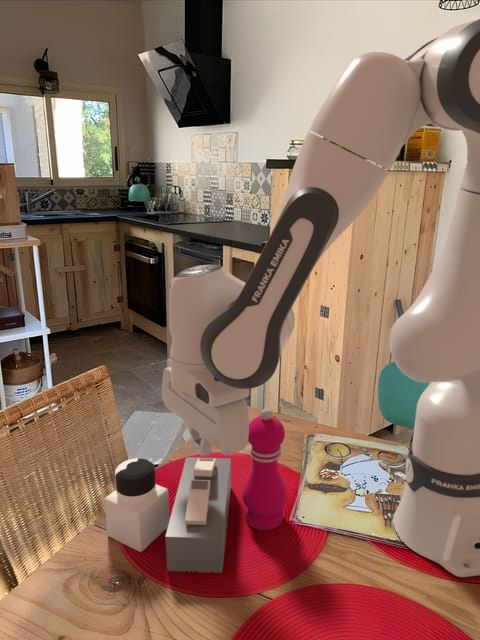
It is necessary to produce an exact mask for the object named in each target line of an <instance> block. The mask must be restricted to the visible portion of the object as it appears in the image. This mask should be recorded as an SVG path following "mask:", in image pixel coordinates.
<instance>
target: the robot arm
mask: <svg viewBox="0 0 480 640" xmlns="http://www.w3.org/2000/svg"><path fill="white" fill-rule="evenodd" d="M424 126H426V127H433V128H434V127H435V128H440V129H444V130H447V131H461V132H462V133H463V135H464V138H465V141H466V146H467V147H466V149H467V150H466V151H467V155H466V162H467V163H466V165H465V168H464V172H463V175H462V179H461V183H460V187H459V190H458V191H459V192H458V195H457V198H456V203H455V207H454V211H453V214H452V217H451V222H450V226H449V229H448V233H447V238H446V241H445V244H444V246H443V248H442V251H441V254H440V256H439V258H438V259H437V261H436V264H435V266H434V267H433V269H432V272H431V273H430V275H429V276H428V278H427V280H426V282H425V284H424V286H423V288H422V290H421V291H420V293H419V294H418V295H417V297H416V299H415V300H414V302H413V303H412V304H411V305H410V307H409V308H408V309H406V311H405V312H404V313H403V314H401V316H399V318H398V319H396V321H395V322H394V323H393V325H392V327H391V330H390V333H389V349H390V354H391V356H392V360H393V361H394V363H395V365H396V366H397V368H398V369H399V370H400V372H402V374H404V375H405V376H406V377H407V378H409V379H411V380H413V381H415V382H418V383H422V384H423V383H426V384H428V386H427V387H426V388H425V389H424V390H423V392H422V393H421V395H420V397H419V398H418V401H417V404H416V411H415V420H414V427H413V435H412V441H411V442H410V443H409V448H408V453H407V457H406V463H405V481H406V482H405V487H404V489H403V492H402V495H401V498H400V502H399V504H398V507H397V508H396V510H395V512H394V513H393V516H394V518H393V517H392V525H393V524H394V527H395V530H396V532H397V534H398V535H397V534H396V535H397V537H398V536H399V537H400V538H399V537H398V538H399V539H400V541H402V543H403V542H404V545H406V546H407V547H408V548H409V549H411V550H412V551H413V552H415V553H416V554H418V555H420V556H422V557H424V558H427V559H428V560H430V561H433V562H434V563H437V564H439V565H440V566H442V567H443V568H444V569H445V570H447V571H448V572H449V573H451V574H452V575H454V576H455V577H459V578H468V577H475V576H476V577H477V576H480V18H479V19H477V20H476V19H475V20H472V21H469V22H465V23H462V24H459V25H456V26H454V27H451V28H450V29H448V30H446V31H445V32H444V33H442V34H441V35H440V36H439V37H436V38H434V39H432V40H430V41H428V42H426V43H425V44H424V45H422V46H421V47H420V48H418V49H417V50H415V52H413V53H412V54H410V55H408V57H406V58H405V59H403V58H401V57H399V56H397V55H395V54H393V53H388V52H382V51H372V52H366V53H363V54H361V55H359V56H357V57H356V58H354V59H353V60H352V61H351V62H350V63H349V64H348V66H347V67H346V69H345V70H344V71H343V73H342V74H341V75H340V77H339V78H338V80H337V81H336V83H335V84H334V86H333V87H332V89H331V90H330V92H329V93H328V95H327V97H326V99H325V100H324V101H323V104H322V105H321V107H320V109H319V111H318V112H317V113H316V115H315V118H314V119H313V121H312V123H311V126H310V127H309V129H308V130H309V131H307V134H306V136H305V137H304V140H303V143H302V145H301V147H300V150H299V151H298V155H297V157H296V159H295V163H294V165H293V168H292V171H291V174H290V177H289V181H288V183H287V187H286V189H285V192H284V197H283V200H282V202H281V205H280V208H279V211H278V215H277V218H276V221H275V223H274V226H273V227H272V228H273V229H272V231H271V233H270V235H269V237H268V240H267V241H266V243H265V245H264V247H263V249H262V251H261V252H260V255H259V257H258V259H257V261H255V262H256V263H255V264H254V267H253V269H252V270H251V272H250V274H249V276H248V278H247V280H246V281H243V280H241V279H239V278H238V277H236V276H234V275H233V274H231V272H229V271H228V270H227V269H226V267H224V266H222V265H218V264H211V263H210V264H202V265H196V266H195V265H194V266H193V267H188V268H185V269H183V270H182V271H179V272H178V273H177V274H176V275H175V276H174V277H173V278H172V280H171V283H170V287H169V296H168V297H169V298H168V328H169V331H170V335H171V338H172V343H171V347H170V352H169V354H170V355H169V357H168V358H167V360H166V367H165V368H164V370H163V372H162V373H163V374H162V385H161V387H162V391H161V397H162V401H163V404H164V406H165V407H166V408H168V409H169V410H170V411H171V412H172V413H173V414H175V415H176V416H177V417H179V418H180V419H181V420H182V421H183V422H184V423H185V424H187V430H188V433H189V435H190V438H191V441H192V446H191V447H192V449H194V450H195V451H196V452H197V453H198V454H199V455H201V457H206V456H208V455H211V453H212V445H213V447H215V449H217V450H219V451H220V452H221V453H222V454H223V455H225V456H230V455H233V454H235V453H237V452H238V453H239V452H240V451H243V450H244V449H245V448H246V447H247V445H248V443H249V442H248V436H249V423H250V414H249V407H248V404H247V401H246V399H245V398H248V397H249V396H250V389H254V388H257V387H260V386H262V385H264V384H266V383H267V382H268V381H269V380H270V379H271V378H272V377H273V376H274V374H275V372H276V371H277V367H278V365H279V362H280V358H281V356H282V354H283V351H284V350H285V349H286V346H287V344H288V342H289V340H290V337H291V336H292V333H293V332H294V328H295V315H294V311H293V307H294V304H295V303H296V301H297V299H298V297H299V295H300V294H301V291H302V290H303V288H304V286H305V285H306V282H307V280H308V279H309V277H310V275H311V274H312V272H313V270H314V268H315V266H316V265H317V263H318V262H319V260H320V259H321V258H322V256H323V255H324V254H325V253H326V251H327V250H328V249H329V247H330V246H331V245H332V244H333V243H334V242H335V241H336V240H337V239H338V238H339V237H340V236H341V235H342V234H343V233H344V232H345V231H346V230H347V229H348V228H349V227H350V225H351V224H353V223H354V221H355V220H356V219H357V218H358V217H359V216H360V215H361V213H362V212H363V211H364V210H365V208H366V207H367V206H368V205H369V203H370V202H371V201H372V199H373V198H374V197H375V195H376V194H377V193H378V190H380V187H382V184H383V183H384V181H385V180H386V178H387V176H388V174H389V172H390V171H391V169H392V167H393V166H394V163H395V161H396V160H397V157H398V156H399V153H400V151H401V149H402V148H403V146H404V145H405V144H406V143H407V141H408V140H409V139H410V138H411V137H412V136H413V134H415V133H416V132H417V131H419V130H420V129H421V128H423V127H424ZM310 131H311V132H310ZM324 138H325V139H324ZM334 143H335V144H334ZM346 149H347V150H346ZM358 155H359V156H358ZM368 160H369V161H368ZM388 170H389V171H388ZM394 527H393V528H394ZM395 530H394V531H395ZM396 532H395V533H396Z"/></svg>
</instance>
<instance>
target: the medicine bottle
mask: <svg viewBox="0 0 480 640" xmlns="http://www.w3.org/2000/svg"><path fill="white" fill-rule="evenodd" d="M114 481H115V490H114V491H113V492H112V493H110V494H109V495H107V496H106V497H104V511H105V512H104V513H105V521H106V523H105V524H106V530H107V531H106V532H107V536H108V537H109V538H111V539H114V540H115V541H118V542H120V543H121V544H123V545H125V546H127V547H130V548H131V549H132V550H135V551H137V552H140V553H142V552H143V551H145V550H146V549H147V547H149V545H150V544H152V543H153V542H154V541H155V540H156V539H157V538H158V537H159V536H160V535H161V534H163V533H164V531H166V530H167V529H168V525H169V521H170V506H169V505H170V503H169V500H170V499H169V490H168V488H167V487H163V486H161V485H159V484H157V483H156V468H155V465H154V464H153V462H151V461H150V460H148V459H145V458H140V457H139V458H136V457H135V458H130V459H127V460H124V461H123V462H121V463H120V464H119V465H118V466H117V467H116V469H115V470H114Z"/></svg>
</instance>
